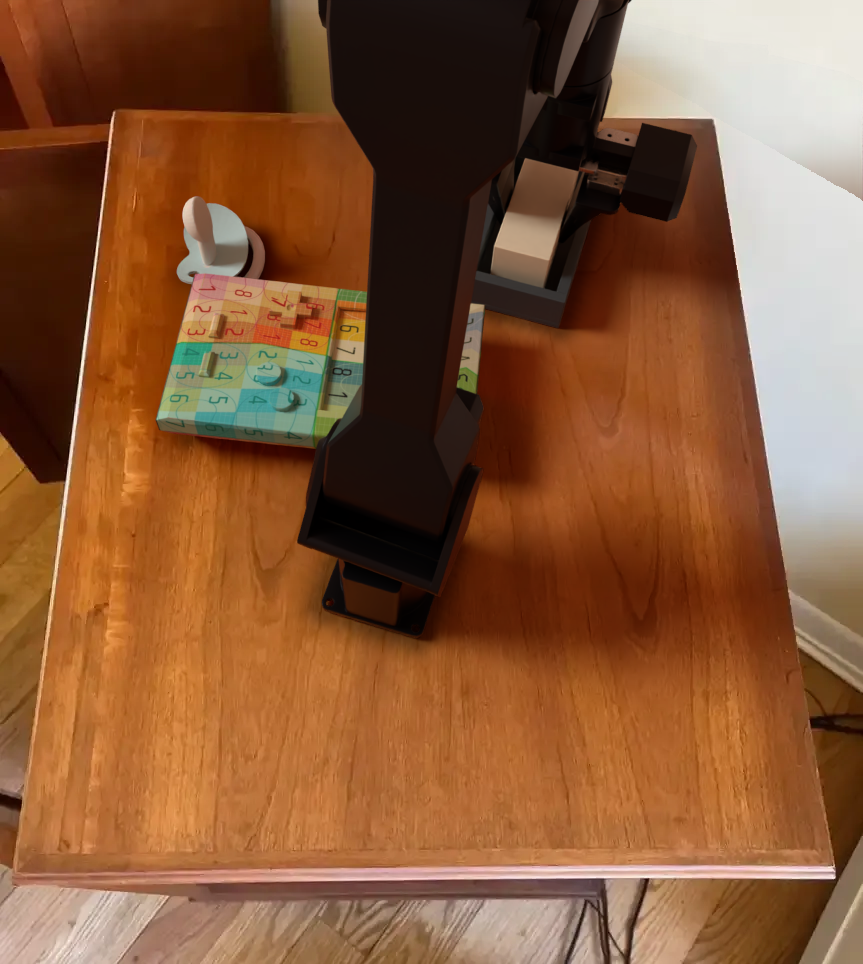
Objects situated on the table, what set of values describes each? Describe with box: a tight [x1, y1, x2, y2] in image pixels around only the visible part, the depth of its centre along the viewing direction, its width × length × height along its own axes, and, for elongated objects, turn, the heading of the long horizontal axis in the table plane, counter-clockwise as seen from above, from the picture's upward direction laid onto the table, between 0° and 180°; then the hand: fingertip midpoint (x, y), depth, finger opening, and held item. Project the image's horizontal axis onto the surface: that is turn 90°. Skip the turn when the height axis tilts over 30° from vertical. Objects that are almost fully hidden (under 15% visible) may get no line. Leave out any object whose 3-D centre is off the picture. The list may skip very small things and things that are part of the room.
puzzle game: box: [155, 273, 486, 450], centre depth 68 cm, size 12×5×20 cm
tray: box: [471, 156, 592, 329], centre depth 75 cm, size 14×8×3 cm, turn 163°
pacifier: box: [176, 195, 266, 285], centre depth 72 cm, size 7×6×6 cm
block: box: [490, 158, 579, 288], centre depth 74 cm, size 4×4×10 cm
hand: (533, 231), depth 75 cm, fingers closed on block, 4 cm apart
